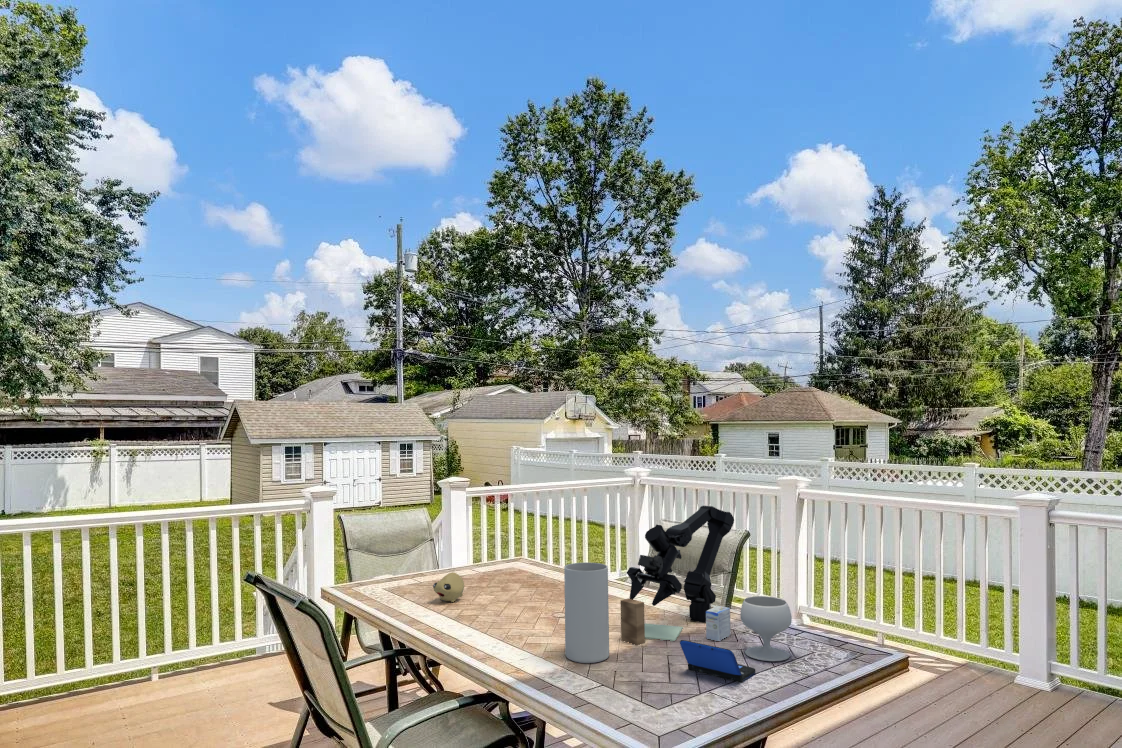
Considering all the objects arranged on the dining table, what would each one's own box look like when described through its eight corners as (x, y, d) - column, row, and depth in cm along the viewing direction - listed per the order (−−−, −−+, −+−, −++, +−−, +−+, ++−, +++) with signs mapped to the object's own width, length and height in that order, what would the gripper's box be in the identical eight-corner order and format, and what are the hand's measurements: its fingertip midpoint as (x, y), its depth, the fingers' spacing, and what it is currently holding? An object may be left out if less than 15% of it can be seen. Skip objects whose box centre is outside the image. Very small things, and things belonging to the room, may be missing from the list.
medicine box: (717, 633, 209) (716, 605, 210) (731, 636, 206) (730, 607, 207) (706, 639, 203) (705, 610, 204) (719, 642, 200) (718, 613, 201)
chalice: (741, 661, 184) (739, 605, 185) (741, 645, 197) (739, 593, 198) (795, 665, 180) (792, 608, 181) (791, 649, 193) (789, 596, 195)
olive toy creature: (428, 603, 250) (428, 574, 251) (448, 596, 260) (448, 569, 261) (448, 607, 245) (448, 577, 246) (469, 599, 255) (468, 571, 256)
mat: (683, 628, 215) (683, 626, 215) (674, 641, 202) (674, 639, 202) (634, 624, 220) (634, 622, 220) (623, 636, 207) (623, 634, 207)
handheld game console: (757, 674, 175) (756, 637, 176) (734, 689, 165) (732, 650, 166) (704, 661, 185) (703, 626, 186) (679, 674, 175) (678, 638, 176)
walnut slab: (644, 643, 201) (644, 602, 202) (637, 645, 198) (636, 604, 199) (629, 638, 206) (628, 598, 207) (621, 640, 203) (620, 600, 204)
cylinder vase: (607, 665, 182) (605, 571, 184) (562, 663, 184) (560, 570, 186) (611, 650, 194) (609, 562, 196) (569, 648, 196) (568, 562, 199)
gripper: (630, 541, 218) (606, 581, 209) (675, 548, 204) (652, 591, 196) (646, 563, 222) (624, 602, 214) (691, 571, 208) (669, 614, 200)
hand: (641, 602), depth 206 cm, fingers open, 9 cm apart
